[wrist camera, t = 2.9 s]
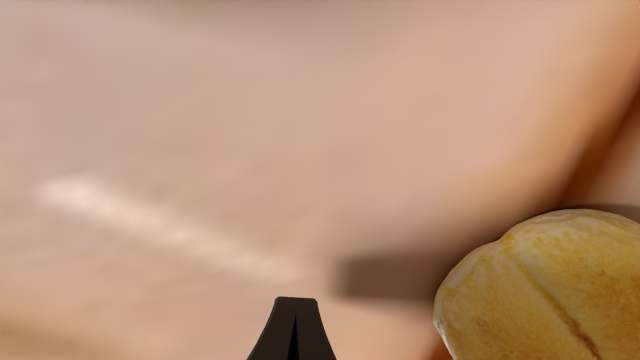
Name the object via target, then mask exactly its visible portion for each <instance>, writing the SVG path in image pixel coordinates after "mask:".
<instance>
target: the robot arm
mask: <svg viewBox="0 0 640 360" xmlns="http://www.w3.org/2000/svg"><path fill="white" fill-rule="evenodd" d="M247 360H336V357H335V355H334V353H333V350H332V348H331V346H330V343H329V341H328V338H327V335H326V333H325V330H324V327H323V324H322V321H321V317H320V314H319V309H318V304H317V301H316V300H315V299H313V298H295V297H278V298H276V299H275V303H274V306H273V309H272V312H271V314H270V317H269V319H268V321H267V323H266V326H265V328H264V330H263V332H262V334H261V335H260V337H259V339H258V341H257V343H256V345H255V347H254V348H253V350H252V352H251V353H250V355H249V357H248V358H247Z"/></svg>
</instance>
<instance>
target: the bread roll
mask: <svg viewBox="0 0 640 360" xmlns="http://www.w3.org/2000/svg"><path fill="white" fill-rule="evenodd" d="M432 322H433V324H434V326H435V327H436V329H437V330H438V332H439V333H440V335H441V336H442V338H443V340H444V343H445V345H446V347H447V348H448V350H449V352H450V354H451V355H452V357H453V360H640V224H639V223H637V222H635V221H633V220H631V219H628V218H626V217H624V216H622V215H618V214H614V213H609V212H604V211H598V210H591V209H564V210H559V211H553V212H549V213H545V214H542V215H539V216H535V217H533V218H531V219H528V220H526V221H524V222H521V223H519V224H517V225H515V226H514V227H512V228H511V229H509V230H508V231H507V232H506V233H505V234H504V235H503V237H501V238H500V239H499V240H498V241H494V242H491V243H488V244H484V245H482V246H480V247H478V248H476V249H474V250H473V251H472V252H470V253H469V254H468V255H466V256H465V257H464V258H463V259H462V260H461V261H460V262H459V263H458V264H457V265H456V266H455V267H454V268H453V269H452V270H451V271H450V272H449V274H448V275H447V276H446V278H445V279H444V281H443V282H442V284H441V285H440V287H439V289H438V291H437V294H436V296H435V300H434V310H433V318H432Z"/></svg>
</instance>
